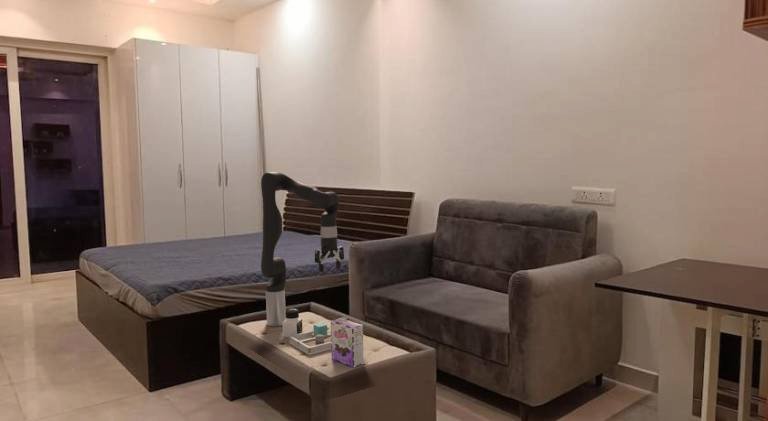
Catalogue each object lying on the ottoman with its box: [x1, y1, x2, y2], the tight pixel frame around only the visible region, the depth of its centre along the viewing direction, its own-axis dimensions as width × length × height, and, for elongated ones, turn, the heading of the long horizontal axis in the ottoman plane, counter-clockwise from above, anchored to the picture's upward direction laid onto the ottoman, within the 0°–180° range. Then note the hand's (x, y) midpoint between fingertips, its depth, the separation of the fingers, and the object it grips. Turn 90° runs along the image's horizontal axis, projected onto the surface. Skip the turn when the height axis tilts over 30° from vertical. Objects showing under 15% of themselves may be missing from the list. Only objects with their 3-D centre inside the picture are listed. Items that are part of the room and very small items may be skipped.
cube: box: [313, 322, 328, 335], centre depth 250 cm, size 4×4×4 cm
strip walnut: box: [304, 337, 331, 347], centre depth 241 cm, size 6×18×6 cm, turn 126°
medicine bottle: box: [282, 308, 304, 338], centre depth 255 cm, size 7×7×12 cm
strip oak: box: [311, 316, 350, 338], centre depth 253 cm, size 6×18×6 cm, turn 126°
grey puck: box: [315, 334, 324, 344], centre depth 239 cm, size 4×4×3 cm
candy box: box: [330, 317, 364, 369], centre depth 222 cm, size 14×6×16 cm, turn 45°
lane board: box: [288, 326, 332, 356], centre depth 244 cm, size 19×20×3 cm
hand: (329, 270), depth 253 cm, fingers open, 8 cm apart
